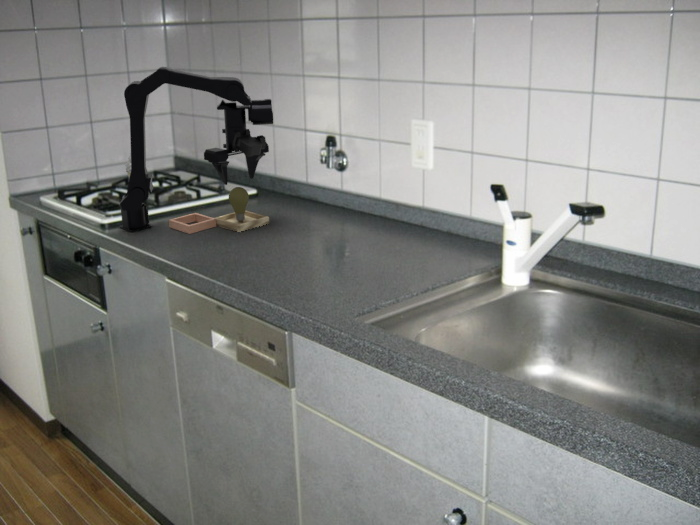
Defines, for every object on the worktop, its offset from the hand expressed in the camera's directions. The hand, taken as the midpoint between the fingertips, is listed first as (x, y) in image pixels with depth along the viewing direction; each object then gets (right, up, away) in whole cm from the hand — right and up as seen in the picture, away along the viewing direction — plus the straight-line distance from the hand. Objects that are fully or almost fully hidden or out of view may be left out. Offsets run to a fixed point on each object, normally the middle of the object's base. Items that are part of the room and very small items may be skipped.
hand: (238, 181), depth 215 cm
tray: (0, -12, +2) cm, 12 cm away
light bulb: (0, -11, +2) cm, 11 cm away
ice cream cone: (-38, -1, +33) cm, 50 cm away
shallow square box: (-13, -13, +1) cm, 18 cm away
